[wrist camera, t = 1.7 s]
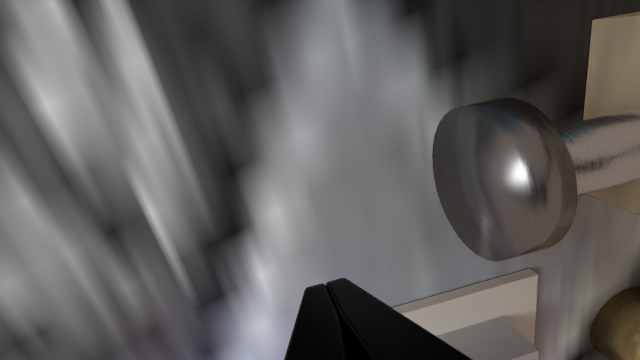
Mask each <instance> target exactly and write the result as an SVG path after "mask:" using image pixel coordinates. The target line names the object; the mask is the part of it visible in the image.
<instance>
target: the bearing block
mask: <svg viewBox="0 0 640 360" xmlns="http://www.w3.org/2000/svg"><path fill="white" fill-rule="evenodd" d="M636 108H640V11H639V12H633V13H628V14H622V15H617V16H611V17H606V18H600V19H595V20H592V30H591V41H590V52H589V62H588V73H587V84H586V94H585V105H584V116H583V121H584V120H588V119H592V118H597V117H601V116H606V115H610V114H614V113H619V112H623V111H628V110H632V109H636ZM587 194H589V195H591V196H594V197H596V198H599V199H601V200H604V201H606V202H609V203H611V204H614V205H616V206H619V207H621V208H624V209H626V210H629V211H631V212H634V213H636V214H639V215H640V180H637V181H633V182H629V183H625V184H621V185H617V186H614V187H610V188H606V189H602V190H598V191H594V192H591V193H587Z"/></svg>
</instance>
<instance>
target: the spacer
mask: <svg viewBox="0 0 640 360" xmlns="http://www.w3.org/2000/svg"><path fill="white" fill-rule="evenodd" d="M590 339H591V343H592V345H593V346H594V348H595V349H597V350H598V351H599V352H600V353H601V354H603V355H604V356H605V357H606V358H608V359H609V360H640V286H634V287H630V288H628V289H625V290H623V291H621V292H619V293H618V294H616V295H615V296H613V297H612V298H611V299H610V300H609V301H607V303H606V304H605V305H604V306H603V307H602V308H601V309H600V311H599V312H598V314H597V315H596V317H595V319H594V321H593V323H592V326H591V331H590Z"/></svg>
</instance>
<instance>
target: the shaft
mask: <svg viewBox="0 0 640 360" xmlns="http://www.w3.org/2000/svg"><path fill="white" fill-rule="evenodd" d="M432 158H433V172H434V179H435V184H436V188H437V192H438V196H439V199H440V202H441V205H442V207H443V210H444V212H445V214H446V216H447V218H448V220H449V222H450V224H451V226H452V227H453V229H454V231H455V232H456V234H457V235H458V236H459V238H460V239H461V240H462V241H463V243H464V244H465V245H466V246H467V247H468V248H469V249H470V250H471V251H473V252H474V253H475V254H477V255H478V256H480V257H482V258H484V259H487V260H490V261H503V260H506V259H510V258H513V257H517V256H521V255H524V254H528V253H531V252H535V251H538V250H542V249H545V248H549V247H552V246H553V245H555V244H557V243H558V242H559V241H560V240H561V239H563V238H564V236H565V235H566V234H567V232H568V231H569V229H570V227H571V225H572V222H573V219H574V216H575V212H576V206H577V196H579V195H583V194H587V193H591V192H594V191H598V190H602V189H606V188H610V187H614V186H617V185H621V184H625V183H629V182H633V181H637V180H640V108H636V109H632V110H628V111H623V112H619V113H614V114H610V115H606V116H601V117H597V118H592V119H588V120H584V121H579V122H575V123H571V124H566V125H562V126H557V127H555V126H554V125H553V123H552V122H551V121H550V120H549V119H548V118H547V117H546V116H545V115H544V114H543V113H542V112H541V111H540V110H539V109H537V108H536V107H534V106H533V105H531V104H530V103H527V102H525V101H523V100H520V99H516V98H500V99H495V100H490V101H486V102H481V103H476V104H471V105H467V106H462V107H457V108H455V109H452V110H451V111H449V112H448V113H447V114H446V115H445V116H444V117H443V118H442V120H441V121H440V123H439V125H438V127H437V130H436V133H435V137H434V143H433V154H432Z"/></svg>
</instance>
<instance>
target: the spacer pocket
mask: <svg viewBox="0 0 640 360" xmlns="http://www.w3.org/2000/svg"><path fill="white" fill-rule="evenodd" d="M537 287H538V274H537V273H535V272H534V271H533V270H531V269H530V268H529V269H526V270H522V271H519V272H515V273H512V274H508V275H505V276H501V277H498V278H494V279H491V280H487V281H484V282H480V283H477V284H473V285H470V286H466V287H463V288H459V289H456V290H452V291H449V292H445V293H442V294H438V295H435V296H431V297H428V298H424V299H421V300H417V301H414V302H410V303H407V304H403V305H400V306H396V307H393V309H394V310H396V311H398V312H399V313H401V314H402V315H404V316H405V317H407V318H409V319H410V320H412V321H413V322H415V323H416V324H418V325H420V326H421V327H423V328H424V329H426V330H427V331H429V332H430V333H432V334H434V335H435V336H437V337H438V338H440V339H441V340H443V341H445V342H446V343H448V344H449V345H451V346H452V347H454V348H456V349H457V350H459V351H460V352H462V353H463V354H465V355H467V356H468V357H470V358H471V359H473V360H538V354H539V350H538V349H537V348H536V347H535V346H534V338H535V321H536V304H537Z"/></svg>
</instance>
